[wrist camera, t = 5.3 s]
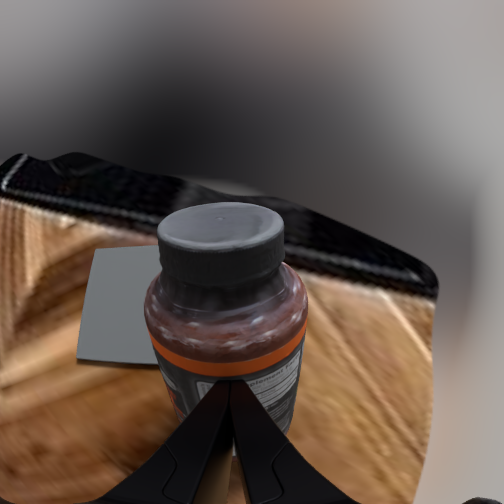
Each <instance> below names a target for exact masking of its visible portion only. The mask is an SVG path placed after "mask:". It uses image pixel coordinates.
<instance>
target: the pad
mask: <svg viewBox="0 0 504 504" xmlns="http://www.w3.org/2000/svg"><path fill="white" fill-rule="evenodd" d="M159 258H160V253H159V246H158V245H153V246H136V247H120V248H105V249H96V250H95V254H94V258H93V262H92V267H91V271H90V276H89V280H88V285H87V290H86V295H85V300H84V306H83V312H82V318H81V324H80V331H79V338H78V346H77V355H76V358H78V359H81V360H91V361H101V362H114V363H128V364H149V365H159V364H158V361H157V358H156V356H155V352H154V350H153V346H152V342H151V338H150V335H149V332H148V329H147V325H146V321H145V317H144V299H145V295H146V292H147V289H148V287H149V285H150V284H151V282H152V281H153V279H154V278H155V277H156V276H157V275H158V274H159V273H160V272H161V271H162V266H161V264H160V261H159Z"/></svg>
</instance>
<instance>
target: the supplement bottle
mask: <svg viewBox="0 0 504 504" xmlns="http://www.w3.org/2000/svg"><path fill="white" fill-rule="evenodd" d="M157 238H158V246H159V253H160V258H159V261H160V264H161V266H162V271H161V272H160V273H159V274H158V275H157V276H156V277H155V278H154V279H153V281H152V282H151V284H150V285H149V287H148V289H147V292H146V295H145V299H144V317H145V321H146V325H147V329H148V332H149V335H150V338H151V342H152V346H153V350H154V352H155V356H156V358H157V361H158V364H159V368H160V371H161V373H162V376H163V379H164V381H165V384H166V387H167V390H168V392H169V395H170V398H171V401H172V403H173V406H174V409H175V411H176V414H177V417H178V419H179V421H180V424H181V422H182V421H183V420H184V419H185V418H186V417H187V416H188V414H189V413H190V412H191V411H192V410H193V409H194V407H195V406H196V405H197V404H198V403H199V401H200V400H201V399H202V398H203V397H204V395H205V394H206V393H207V392H208V391H209V389H210V388H211V387H212V386H213V385H214V383H215V382H216V381H218V380H230V382H231V381H232V380H239V379H243V380H245V381H246V383H247V384H248V386H249V387H250V388H251V390H252V391H253V393H254V394H255V395H256V397H257V398H258V400H259V401H260V402H261V404H262V405H263V406H264V408H265V409H266V410H267V412H268V413H269V414H270V416H271V417H272V419H273V420H274V421H275V422H276V424H277V425H278V426H279V428H280V429H281V430H282V432H283V433H284V434H285V436H286V434H287V432H288V430H289V427H290V423H291V420H292V417H293V411H294V405H295V400H296V394H297V387H298V381H299V376H300V369H301V362H302V355H303V348H304V340H305V332H306V323H307V315H308V297H307V292H306V289H305V286H304V284H303V282H302V280H301V278H300V277H299V276H298V274H297V273H296V272H295V271H294V270H293V269H292V268H291V267H290V266H288V265H287V264H286V263H284V262H283V260H284V258H285V249H284V223H283V220H282V218H281V217H280V215H279V214H277V213H276V212H273V211H272V210H270V209H268V208H265V207H261V206H258V205H253V204H244V203H238V202H222V203H213V204H205V205H199V206H194V207H189V208H186V209H182V210H179V211H177V212H174V213H173V214H171V215H169V216H168V217H166V218H165V219H164V220H163V221H162V222H161V223H160V224H159V226H158V229H157ZM232 461H238V460H237V455H236V449H235V442H234V446H233V455H232Z"/></svg>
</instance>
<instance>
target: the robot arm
mask: <svg viewBox="0 0 504 504" xmlns="http://www.w3.org/2000/svg"><path fill="white" fill-rule="evenodd" d="M234 442H235V449H236V455H237V460H238V465H239V470H240V475H241V480H242V485H243V490H244V495H245V500H246V504H361V503H359V502H357V501H355V500H353V499H352V498H350V497H349V496H347V495H346V494H345V493H343V492H342V491H341V490H340V489H338V488H337V487H336V486H335V485H334V484H332V483H331V482H330V481H329V480H328V479H326V478H325V477H324V476H323V475H322V474H320V473H319V472H318V471H317V470H316V469H315V468H314V467H313V466H312V465H311V464H310V463H308V462H307V461H306V460H305V458H304V457H303V456H302V455H301V454H300V453H299V452H298V450H297V449H296V448H295V447H294V445H293V444H292V443H291V442H290V441H289V439H288V438H287V437H286V436H285V434H284V433H283V432H282V430H281V429H280V428H279V426H278V425H277V424H276V422H275V421H274V420H273V419H272V417H271V416H270V414H269V413H268V412H267V410H266V409H265V408H264V406H263V405H262V404H261V402H260V401H259V400H258V398H257V397H256V395H255V394H254V393H253V391H252V390H251V388H250V387H249V386H248V384H247V383H246V381H245V380H243V379H239V380H232V381H231V382H230V380H218V381H216V382H215V383H214V385H213V386H212V387H211V388H210V389H209V391H208V392H207V393H206V394H205V395H204V397H203V398H202V399H201V400H200V401H199V403H198V404H197V405H196V406H195V407H194V409H193V410H192V411H191V412H190V413H189V414H188V416H187V417H186V418H185V419H184V420H183V421H182V422H181V424H180V425H179V426H178V427H177V428H176V429H175V431H174V432H173V433H172V434H171V435H170V436H169V437H168V438H167V440H166V441H165V442H164V444H162V445H161V446H160V447H159V448H158V449H157V451H156V452H155V453H154V454H153V455H152V456H151V457H150V458H149V459H148V460H147V461H146V462H145V463H143V464H142V465H141V466H140V467H139V468H138V469H137V470H135V471H134V472H133V473H132V474H130V475H129V476H128V477H127V478H125V479H124V480H123V481H122V482H120V483H119V484H118V485H116V486H115V487H114V488H112V489H111V490H110V491H108V492H107V493H106V494H104V495H103V496H101V497H99V498H97V499H95V500H92V501H89V502H84V503H75V504H227V496H228V488H229V480H230V472H231V464H232V455H233V446H234ZM0 504H15V503H11V502H9V501H6V500H4V499H3V498H1V497H0ZM463 504H502V503H500V502H498V501H496V500H492V499H487V498H480V497H476V498H472V499H470V500H468V501H466V502H464V503H463Z"/></svg>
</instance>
